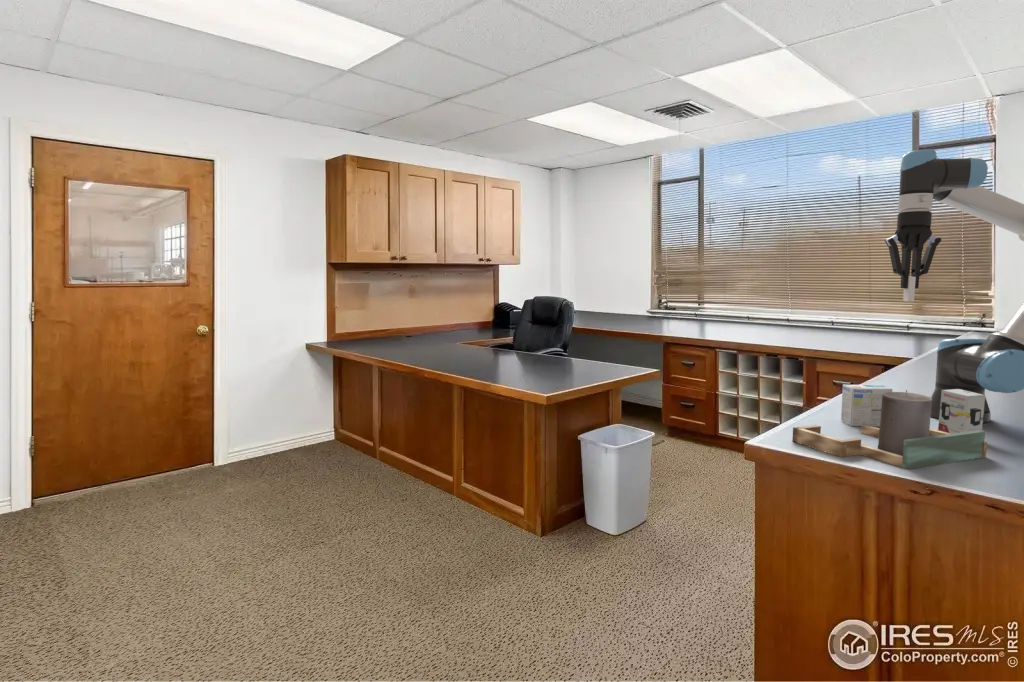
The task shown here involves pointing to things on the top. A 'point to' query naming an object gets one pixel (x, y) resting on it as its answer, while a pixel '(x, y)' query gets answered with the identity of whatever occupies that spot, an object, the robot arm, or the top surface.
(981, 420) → the ink box
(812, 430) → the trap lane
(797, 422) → the top surface
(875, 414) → the light bulb box
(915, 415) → the pillar candle
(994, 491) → the top surface
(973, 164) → the robot arm
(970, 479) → the top surface
